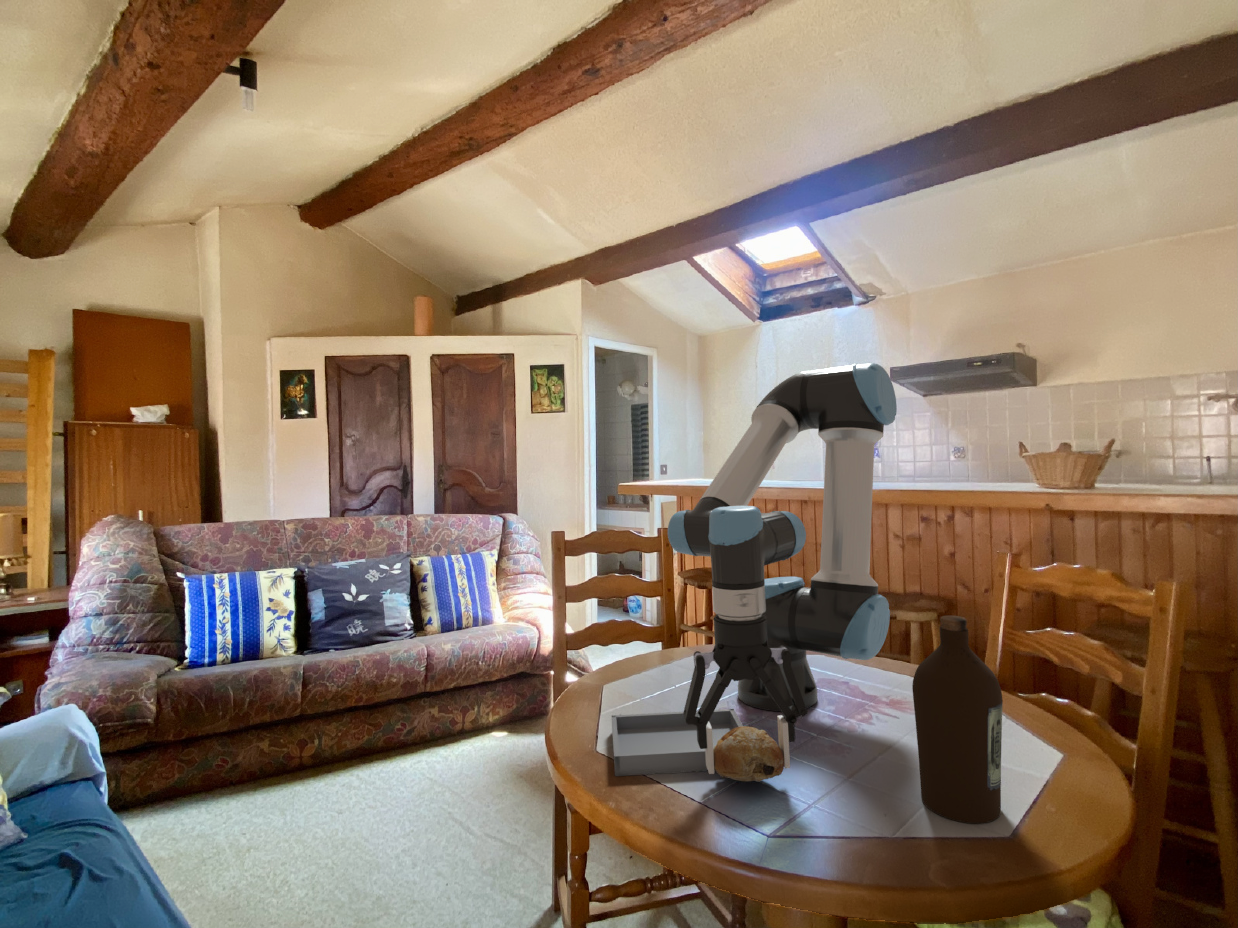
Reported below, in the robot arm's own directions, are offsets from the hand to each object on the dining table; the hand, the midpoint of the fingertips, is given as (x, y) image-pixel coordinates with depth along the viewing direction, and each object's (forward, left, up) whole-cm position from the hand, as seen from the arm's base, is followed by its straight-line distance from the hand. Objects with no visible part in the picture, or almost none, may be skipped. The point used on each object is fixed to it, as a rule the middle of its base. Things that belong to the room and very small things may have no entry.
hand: (747, 766), depth 93 cm
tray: (+8, -13, -3) cm, 15 cm away
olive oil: (-27, +8, -3) cm, 28 cm away
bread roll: (0, 0, -1) cm, 1 cm away
